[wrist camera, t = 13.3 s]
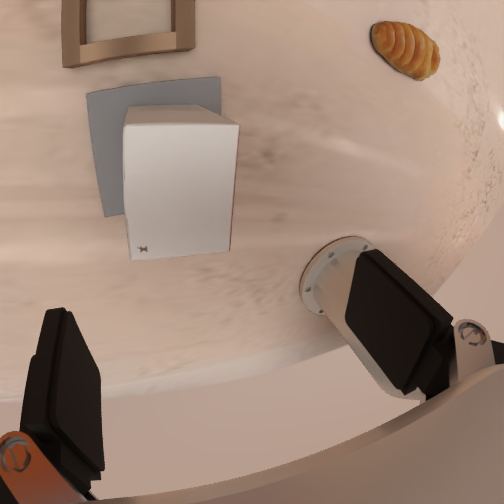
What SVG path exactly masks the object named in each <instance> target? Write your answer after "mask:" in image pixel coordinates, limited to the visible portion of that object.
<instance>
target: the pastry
mask: <svg viewBox="0 0 504 504" xmlns="http://www.w3.org/2000/svg"><path fill="white" fill-rule="evenodd" d="M372 42H373V46H374V47H375V49H376V50H377V51H378V52H379V53H380V54H381V55H382V56H383V57H384V58H385V59H386V60H387V61H388V63H389V64H390V65H391V66H392V67H394V68H396V69H397V70H398V71H399V72H401V73H405V74H407V75H408V76H411V77H413V78H414V79H416V80H417V81H423V80H424V79H425V78H428V77H430V76H431V75H433V74H434V73H435V72H436V71H437V69H438V67H439V63H440V55H439V48H438V46H437V45H436V43H435V41H433V40H431V39H430V38H429V37H428V36H427V35H426V34H425V33H424V32H423V31H422V30H421V29H418V28H416V27H414V26H412V25H410V24H406V23H400V22H389V21H384V22H381V23H377V24H375V25H374V26H373V29H372Z"/></svg>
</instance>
